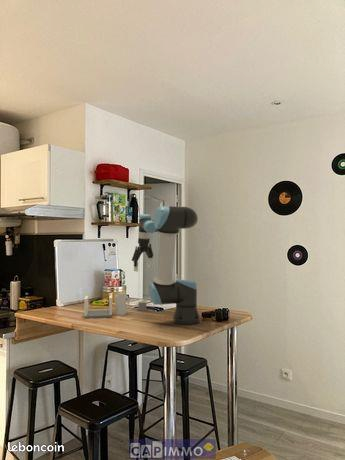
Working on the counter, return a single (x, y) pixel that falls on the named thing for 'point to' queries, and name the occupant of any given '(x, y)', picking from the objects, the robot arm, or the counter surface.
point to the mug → (121, 304)
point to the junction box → (142, 305)
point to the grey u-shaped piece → (97, 313)
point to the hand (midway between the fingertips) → (142, 269)
